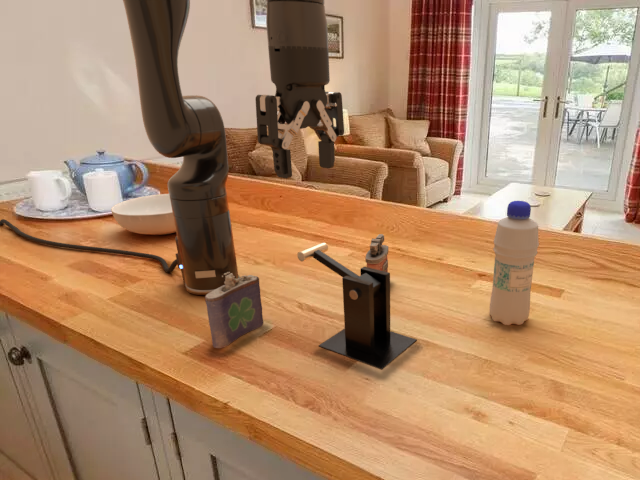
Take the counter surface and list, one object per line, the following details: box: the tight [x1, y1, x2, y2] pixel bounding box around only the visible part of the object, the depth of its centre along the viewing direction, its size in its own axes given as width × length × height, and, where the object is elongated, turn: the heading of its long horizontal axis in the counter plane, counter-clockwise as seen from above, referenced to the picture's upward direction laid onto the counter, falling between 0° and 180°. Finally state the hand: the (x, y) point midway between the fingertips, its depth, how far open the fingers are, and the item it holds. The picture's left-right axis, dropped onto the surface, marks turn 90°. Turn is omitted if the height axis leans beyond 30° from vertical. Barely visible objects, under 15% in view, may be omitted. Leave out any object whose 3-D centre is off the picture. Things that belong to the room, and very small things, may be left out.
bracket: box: [318, 266, 418, 370], centre depth 69 cm, size 11×9×12 cm
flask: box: [204, 272, 264, 349], centre depth 71 cm, size 9×3×11 cm, turn 151°
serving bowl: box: [110, 193, 176, 236], centre depth 122 cm, size 21×21×7 cm
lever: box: [296, 241, 381, 299], centre depth 69 cm, size 12×5×2 cm, turn 59°
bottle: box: [489, 200, 540, 326], centre depth 75 cm, size 7×7×20 cm
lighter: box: [364, 233, 390, 272], centre depth 89 cm, size 8×3×10 cm, turn 168°
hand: (306, 172), depth 69 cm, fingers open, 8 cm apart
